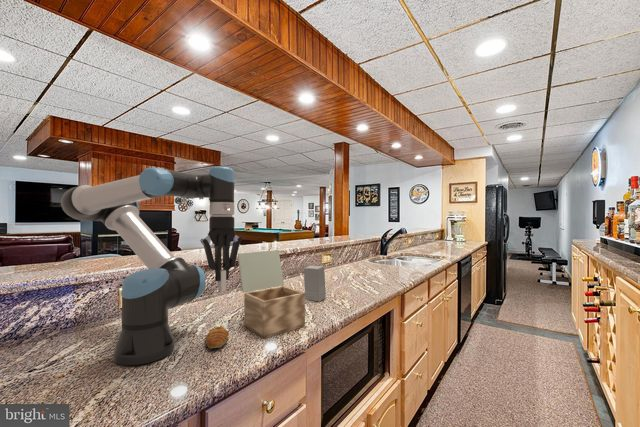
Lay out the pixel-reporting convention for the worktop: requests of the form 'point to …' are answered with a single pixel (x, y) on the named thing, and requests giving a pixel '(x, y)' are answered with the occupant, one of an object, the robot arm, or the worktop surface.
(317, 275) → the skincare box
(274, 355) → the worktop surface
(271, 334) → the box
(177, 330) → the worktop surface
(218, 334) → the pastry
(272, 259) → the lid
